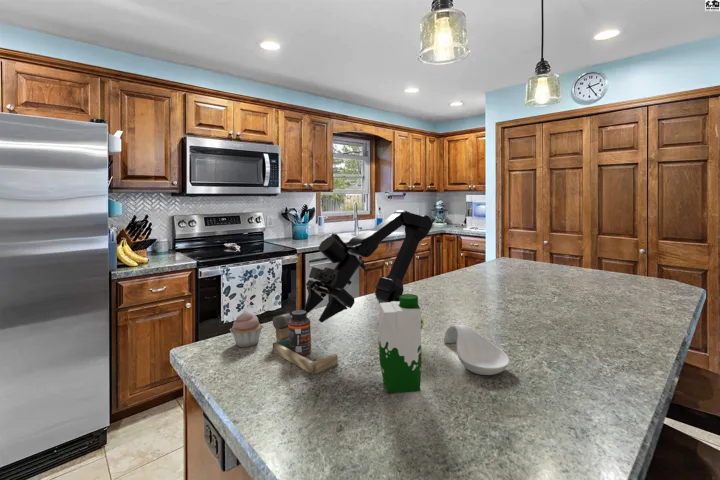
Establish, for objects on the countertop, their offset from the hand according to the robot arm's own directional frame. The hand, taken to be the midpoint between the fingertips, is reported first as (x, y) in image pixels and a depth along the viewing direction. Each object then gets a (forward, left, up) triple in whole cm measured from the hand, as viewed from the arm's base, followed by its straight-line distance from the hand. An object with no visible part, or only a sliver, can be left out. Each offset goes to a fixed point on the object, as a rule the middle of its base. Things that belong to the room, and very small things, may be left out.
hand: (311, 317), depth 103 cm
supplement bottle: (+3, +3, -9) cm, 10 cm away
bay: (+1, +6, -9) cm, 11 cm away
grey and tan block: (+10, -2, -9) cm, 13 cm away
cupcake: (+21, -2, -9) cm, 23 cm away
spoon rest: (-42, +3, -9) cm, 44 cm away
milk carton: (-25, +18, -9) cm, 32 cm away
